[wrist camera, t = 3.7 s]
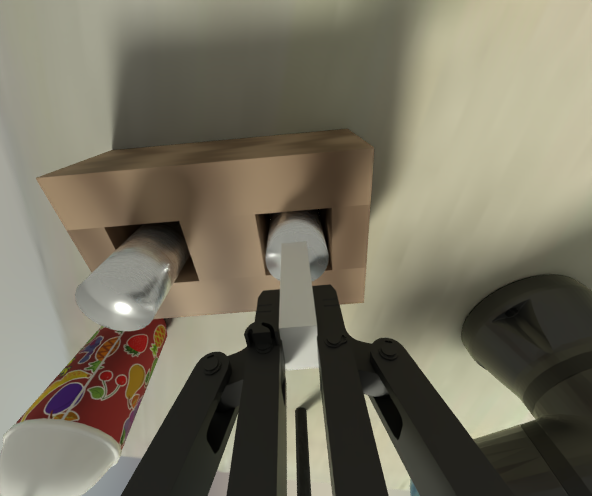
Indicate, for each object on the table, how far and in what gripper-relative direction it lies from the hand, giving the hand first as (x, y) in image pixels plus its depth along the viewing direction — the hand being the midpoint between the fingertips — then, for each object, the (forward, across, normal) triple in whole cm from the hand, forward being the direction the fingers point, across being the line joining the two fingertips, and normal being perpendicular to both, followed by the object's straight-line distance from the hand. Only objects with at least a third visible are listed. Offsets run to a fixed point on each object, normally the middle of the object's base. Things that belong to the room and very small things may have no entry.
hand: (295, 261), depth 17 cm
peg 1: (+5, +10, 0) cm, 11 cm away
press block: (+10, +5, 0) cm, 11 cm away
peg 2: (+8, 0, 0) cm, 8 cm away
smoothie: (+11, +20, +14) cm, 27 cm away
